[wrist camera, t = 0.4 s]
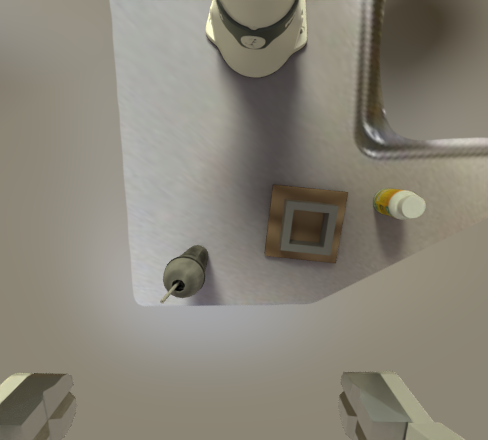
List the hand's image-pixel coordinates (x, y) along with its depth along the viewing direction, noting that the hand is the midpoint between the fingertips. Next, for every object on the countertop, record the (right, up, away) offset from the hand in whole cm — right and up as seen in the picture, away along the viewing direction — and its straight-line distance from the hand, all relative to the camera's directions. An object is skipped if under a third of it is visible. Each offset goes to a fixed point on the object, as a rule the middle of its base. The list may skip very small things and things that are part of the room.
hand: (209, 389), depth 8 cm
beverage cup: (-9, -3, +49) cm, 50 cm away
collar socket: (+14, +4, +47) cm, 49 cm away
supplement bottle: (+30, +9, +46) cm, 56 cm away
